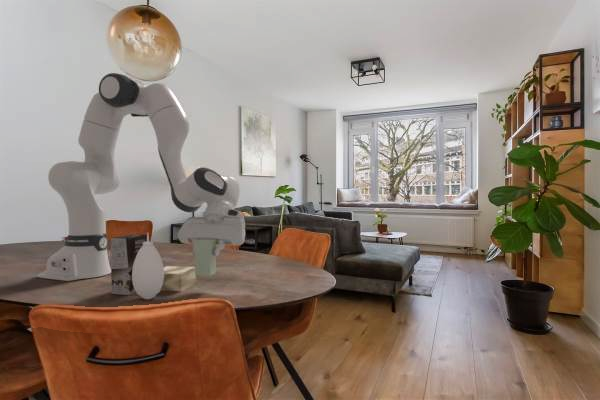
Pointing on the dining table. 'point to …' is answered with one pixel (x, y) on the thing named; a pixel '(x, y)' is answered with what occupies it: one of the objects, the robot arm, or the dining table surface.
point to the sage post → (205, 257)
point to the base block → (178, 278)
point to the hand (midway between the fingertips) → (204, 254)
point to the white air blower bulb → (148, 271)
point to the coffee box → (124, 262)
